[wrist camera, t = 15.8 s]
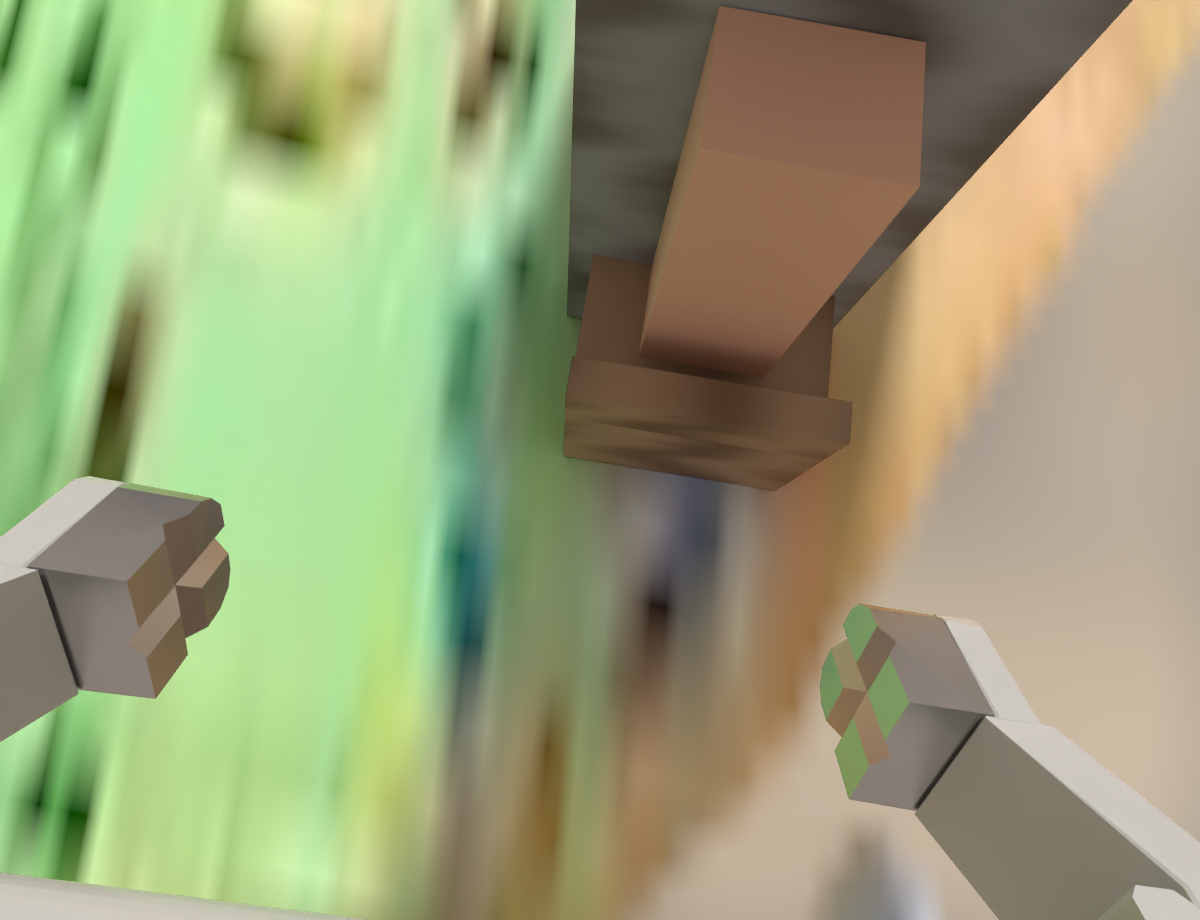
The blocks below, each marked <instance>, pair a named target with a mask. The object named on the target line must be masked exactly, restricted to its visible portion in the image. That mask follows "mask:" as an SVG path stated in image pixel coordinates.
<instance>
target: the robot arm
mask: <svg viewBox="0 0 1200 920" xmlns="http://www.w3.org/2000/svg"><path fill="white" fill-rule="evenodd" d="M223 527H224V520H223V515H222V510H221V504H219V503H218V502H216V501H215V500H214V499H212V498H208V497H203V496H197V495H192V494H187V493H181V492H176V491H170V490H165V489H160V488H154V487H149V486H143V485H138V484H133V483H131V484H127V483H124V482H118V481H113V480H107V479H102V478H96V477H91V476H88V477H83V478H79V479H74V480H73V481H72V482H70V483H69V484H68V485H67V486H65V487H64V488H63V489H61V490H60V491H59V492H58V493H56V494H55V495H54V496H53V497H51V498H50V499H49V500H47V501H46V502H45V503H44V504H42V505H41V506H40V507H39V508H37V509H36V510H35V511H33V512H32V513H31V514H30V515H28V516H27V517H26V518H24V519H23V520H22V521H21V522H19V523H18V524H17V525H16V526H14V527H13V528H12V529H10V530H9V531H8V532H7V533H5V534H4V535H3V536H1V537H0V742H1V741H3V740H4V739H6V738H8V737H9V736H11V735H12V734H14V733H16V732H17V731H19V730H21V729H22V728H24V727H25V726H27V725H29V724H30V723H32V722H34V721H35V720H37V719H38V718H40V717H42V716H43V715H45V714H47V713H48V712H50V711H51V710H53V709H55V708H56V707H58V706H59V705H61V704H63V703H64V702H66V701H68V700H69V699H71V698H72V697H74V696H76V695H77V694H78V690H85V691H94V692H102V693H111V694H120V695H128V696H137V697H145V698H154V699H156V698H157V696H158V695H159V694H160V692H161V691H162V689H163V688H164V687H165V685H166V684H167V683H168V681H169V680H170V678H171V677H172V676H173V674H174V673H175V672H176V670H177V669H178V667H179V666H180V665H181V663H182V662H183V661H184V659H185V658H186V656H187V655H188V652H187V646H186V641H185V638H187V637H189V636H191V635H193V634H195V633H197V632H198V631H200V630H202V629H204V628H206V627H208V626H209V624H210V623H211V621H212V620H213V619H214V617H215V616H216V614H217V613H218V611H219V610H220V608H221V605H222V603H223V600H224V597H225V595H226V592H227V589H228V586H229V576H230V563H229V555H228V553H227V552H226V550H225V549H224V548H223V547H222V546H221V545H220V544H219V543H218V542H217V541H216V539H215V537H216V536H217V534H218V533H219V532H220V531H221V529H222V528H223ZM843 627H844V629H845V632H846V635H847V638H848V639H847V640H845V641H843V642H842V643H840V644H838V645H837V646H835V647H833V648H832V649H831V650H830V652H829V654H828V657H827V659H826V661H825V663H824V665H823V669H822V676H821V683H820V693H821V704H822V708H823V711H824V715H825V719H826V721H827V722H828V723H829V724H830V725H831V726H832V727H833V728H834V729H835V730H836V732H837V733H838V734H839V735H840V736H841V737H842V738H841V740H840V742H839V744H838V746H837V747H836V749H835V754H836V757H837V761H838V764H839V767H840V771H841V774H842V778H843V781H844V784H845V788H846V791H847V794H848V798H849V799H851V800H856V801H862V802H868V803H874V804H880V805H885V806H891V807H897V808H902V809H908V810H914V811H916V813H915V815H916V816H917V818H918V819H919V820H920V821H921V823H922V824H923V825H924V826H925V828H926V829H927V830H928V831H929V833H930V834H931V835H932V836H933V838H934V839H935V840H936V841H937V843H938V844H939V845H940V846H941V847H942V849H943V850H944V851H945V853H946V854H947V855H948V856H949V858H950V859H951V860H952V861H953V863H954V864H955V865H956V866H957V868H958V869H959V870H960V871H961V873H962V874H963V875H964V876H965V878H966V879H967V880H968V881H969V883H970V884H971V885H972V886H973V888H974V889H975V890H976V891H977V892H978V894H979V895H980V896H981V898H982V899H983V900H984V901H985V903H986V904H987V905H988V906H989V907H990V909H991V910H992V911H993V913H994V914H995V915H996V916H997V918H998V919H999V920H1200V843H1199V842H1198V841H1197V840H1195V839H1194V838H1193V837H1192V836H1191V835H1189V834H1188V833H1187V832H1186V831H1184V830H1183V829H1182V828H1181V827H1179V826H1178V825H1177V824H1175V823H1174V822H1173V821H1172V820H1170V819H1169V818H1168V817H1167V816H1165V815H1164V814H1163V813H1161V812H1160V811H1159V810H1158V809H1157V808H1155V807H1154V806H1153V805H1151V804H1150V803H1149V802H1148V801H1146V800H1145V799H1144V798H1143V797H1141V796H1140V795H1139V794H1138V793H1136V792H1135V791H1134V790H1133V789H1131V788H1130V787H1129V786H1128V785H1126V784H1125V783H1124V782H1122V781H1121V780H1120V779H1118V778H1117V777H1116V776H1115V775H1114V774H1112V773H1111V772H1110V771H1108V770H1107V769H1106V768H1105V767H1103V766H1102V765H1101V764H1100V763H1098V762H1097V761H1096V760H1095V759H1093V758H1092V757H1091V756H1090V755H1088V754H1087V753H1086V752H1084V751H1083V750H1082V749H1081V748H1080V747H1078V746H1077V745H1076V744H1074V743H1073V742H1072V741H1070V740H1069V739H1068V738H1067V737H1066V736H1064V735H1063V734H1062V733H1061V732H1059V731H1058V730H1057V729H1055V728H1054V727H1053V726H1047V725H1041V724H1040V722H1039V721H1038V719H1037V717H1036V716H1035V714H1034V712H1033V711H1032V709H1031V708H1030V706H1029V704H1028V703H1027V701H1026V699H1025V698H1024V696H1023V694H1022V693H1021V691H1020V689H1019V688H1018V686H1017V684H1016V683H1015V681H1014V679H1013V678H1012V676H1011V675H1010V673H1009V671H1008V669H1007V668H1006V666H1005V664H1004V663H1003V661H1002V659H1001V658H1000V656H999V655H998V653H997V651H996V650H995V648H994V646H993V645H992V643H991V641H990V640H989V638H988V636H987V635H986V633H985V631H984V630H983V628H982V627H981V626H980V625H978V624H977V623H976V622H974V621H973V620H969V619H963V618H955V617H948V616H941V615H928V614H921V613H915V612H909V611H902V610H896V609H890V608H883V607H877V606H871V605H864V604H858V605H857V606H856V607H854V608H853V609H852V610H851V611H850V613H849V615H848V616H847V618H846V620H845V622H844V624H843ZM0 920H368V919H360V918H352V917H345V916H337V915H329V914H321V913H313V912H305V911H298V910H290V909H282V908H274V907H266V906H259V905H251V904H243V903H235V902H227V901H219V900H212V899H204V898H196V897H188V896H181V895H173V894H165V893H157V892H149V891H141V890H134V889H126V888H118V887H110V886H102V885H95V884H87V883H79V882H71V881H63V880H56V879H48V878H40V877H32V876H24V875H17V874H9V873H1V872H0Z"/></svg>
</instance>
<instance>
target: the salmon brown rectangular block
mask: <svg viewBox="0 0 1200 920" xmlns="http://www.w3.org/2000/svg"><path fill="white" fill-rule="evenodd" d="M925 53H926V42H922V41H916V40H911V39H905V38H899V37H894V36H888V35H882V34H877V33H871V32H866V31H860V30H854V29H849V28H843V27H837V26H832V25H826V24H820V23H815V22H809V21H803V20H798V19H792V18H786V17H781V16H775V15H769V14H764V13H758V12H752V11H747V10H741V9H736V8H730V7H724V6H719V9H718V13H717V17H716V21H715V24H714V28H713V32H712V36H711V40H710V44H709V48H708V52H707V55H706V59H705V63H704V67H703V71H702V75H701V79H700V83H699V86H698V90H697V94H696V98H695V102H694V106H693V110H692V113H691V117H690V121H689V125H688V129H687V133H686V137H685V141H684V144H683V148H682V152H681V156H680V160H679V164H678V168H677V172H676V175H675V179H674V183H673V187H672V191H671V195H670V199H669V203H668V206H667V210H666V214H665V218H664V222H663V226H662V230H661V234H660V237H659V241H658V245H657V249H656V253H655V257H654V261H653V265H652V270H651V277H650V284H649V291H648V297H647V304H646V311H645V317H644V324H643V331H642V338H641V344H640V351H639V357H644V358H650V359H656V360H662V361H668V362H674V363H680V364H686V365H692V366H698V367H704V368H710V369H716V370H722V371H728V372H734V373H740V374H746V375H753V376H759V377H765V376H766V375H767V373H768V372H769V371H770V370H771V368H772V367H773V366H774V365H775V364H776V362H777V361H778V360H779V359H780V357H781V356H782V355H783V354H784V352H785V351H786V350H787V349H788V348H789V346H790V345H791V344H792V343H793V341H794V340H795V339H796V338H797V337H798V335H799V334H800V333H801V332H802V330H803V329H804V328H805V327H806V326H807V324H808V323H809V322H810V321H811V319H812V318H813V317H814V316H815V315H816V313H817V312H818V311H819V310H820V308H821V307H822V306H823V305H824V304H825V302H826V301H827V300H828V299H829V297H830V296H831V295H832V294H833V292H834V291H835V290H836V289H837V288H838V286H839V285H840V284H841V283H842V281H843V280H844V279H845V278H846V277H847V275H848V274H849V273H850V272H851V270H852V269H853V268H854V267H855V266H856V264H857V263H858V262H859V261H860V259H861V258H862V257H863V256H864V255H865V253H866V252H867V251H868V250H869V248H870V247H871V246H872V245H873V244H874V242H875V241H876V240H877V239H878V237H879V236H880V235H881V234H882V232H883V231H884V230H885V229H886V228H887V226H888V225H889V224H890V223H891V221H892V220H893V219H894V218H895V217H896V215H897V214H898V213H899V212H900V210H901V209H902V208H903V207H904V206H905V204H906V203H907V202H908V201H909V199H910V198H911V197H912V196H913V195H914V193H915V192H916V191H917V190H918V188H919V187H920V170H921V147H922V124H923V100H924V77H925Z"/></svg>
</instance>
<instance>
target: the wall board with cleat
mask: <svg viewBox="0 0 1200 920" xmlns="http://www.w3.org/2000/svg"><path fill="white" fill-rule="evenodd" d="M1131 2H1132V0H576V18H575V54H574V89H573V125H572V160H571V196H570V231H569V267H568V302H567V316H569V317H575V318H581V319H582V323H581V329H580V334H579V340H578V346H577V352H576V356H573V357H572V363H571V369H570V374H569V380H568V386H567V392H566V403H565V435H564V456H566V457H572V458H578V459H584V460H590V461H596V462H602V463H608V464H615V465H621V466H627V467H633V468H639V469H645V470H651V471H658V472H664V473H670V474H676V475H682V476H688V477H694V478H700V479H707V480H713V481H719V482H725V483H731V484H737V485H743V486H749V487H756V488H762V489H768V490H774V491H775V490H777V489H778V488H780V487H782V486H783V485H785V484H786V483H788V482H789V481H791V480H793V479H794V478H796V477H797V476H799V475H800V474H802V473H803V472H805V471H807V470H808V469H810V468H811V467H813V466H814V465H816V464H818V463H819V462H821V461H822V460H824V459H825V458H827V457H828V456H830V455H832V454H833V453H835V452H836V451H838V450H839V449H841V448H842V447H844V446H846V445H847V444H849V443H850V431H851V416H852V402H847V401H841V400H835V399H829V398H828V386H829V372H830V359H831V346H832V332H833V328H834V327H835V326H836V325H837V324H838V323H839V321H840V320H841V319H842V318H843V317H844V316H845V315H846V314H847V313H848V312H849V310H850V309H851V308H852V307H853V306H854V305H855V304H856V303H857V302H858V301H859V300H860V298H861V297H862V296H863V295H864V294H865V293H866V292H867V291H868V290H869V289H870V287H871V286H872V285H873V284H874V283H875V282H876V281H877V280H878V279H879V278H880V276H881V275H882V274H883V273H884V272H885V271H886V270H887V269H888V268H889V267H890V266H891V264H892V263H893V262H894V261H895V260H896V259H897V258H898V257H899V256H900V255H901V253H902V252H903V251H904V250H905V249H906V248H907V247H908V246H909V245H910V244H911V243H912V241H913V240H914V239H915V238H916V237H917V236H918V235H919V234H920V233H921V232H922V230H923V229H924V228H925V227H926V226H927V225H928V224H929V223H930V222H931V221H932V220H933V218H934V217H935V216H936V215H937V214H938V213H939V212H940V211H941V210H942V209H943V207H944V206H945V205H946V204H947V203H948V202H949V201H950V200H951V199H952V198H953V197H954V195H955V194H956V193H957V192H958V191H959V190H960V189H961V188H962V187H963V186H964V184H965V183H966V182H967V181H968V180H969V179H970V178H971V177H972V176H973V175H974V174H975V172H976V171H977V170H978V169H979V168H980V167H981V166H982V165H983V164H984V163H985V161H986V160H987V159H988V158H989V157H990V156H991V155H992V154H993V153H994V152H995V151H996V149H997V148H998V147H999V146H1000V145H1001V144H1002V143H1003V142H1004V141H1005V140H1006V138H1007V137H1008V136H1009V135H1010V134H1011V133H1012V132H1013V131H1014V130H1015V129H1016V127H1017V126H1018V125H1019V124H1020V123H1021V122H1022V121H1023V120H1024V119H1025V118H1026V117H1027V115H1028V114H1029V113H1030V112H1031V111H1032V110H1033V109H1034V108H1035V107H1036V106H1037V104H1038V103H1039V102H1040V101H1041V100H1042V99H1043V98H1044V97H1045V96H1046V95H1047V94H1048V92H1049V91H1050V90H1051V89H1052V88H1053V87H1054V86H1055V85H1056V84H1057V83H1058V81H1059V80H1060V79H1061V78H1062V77H1063V76H1064V75H1065V74H1066V73H1067V72H1068V71H1069V69H1070V68H1071V67H1072V66H1073V65H1074V64H1075V63H1076V62H1077V61H1078V60H1079V58H1080V57H1081V56H1082V55H1083V54H1084V53H1085V52H1086V51H1087V50H1088V49H1089V48H1090V46H1091V45H1092V44H1093V43H1094V42H1095V41H1096V40H1097V39H1098V38H1099V37H1100V35H1101V34H1102V33H1103V32H1104V31H1105V30H1106V29H1107V28H1108V27H1109V26H1110V25H1111V23H1112V22H1113V21H1114V20H1115V19H1116V18H1117V17H1118V16H1119V15H1120V14H1121V12H1122V11H1123V10H1124V9H1125V8H1126V7H1127V6H1128V5H1129V4H1130V3H1131ZM719 6H724V7H730V8H736V9H741V10H747V11H752V12H758V13H764V14H769V15H775V16H781V17H786V18H792V19H798V20H803V21H809V22H815V23H820V24H826V25H832V26H837V27H843V28H849V29H854V30H860V31H866V32H871V33H877V34H882V35H888V36H894V37H899V38H905V39H911V40H916V41H922V42H926V53H925V77H924V100H923V124H922V147H921V170H920V187H919V188H918V190H917V191H916V192H915V193H914V195H913V196H912V197H911V198H910V199H909V201H908V202H907V203H906V204H905V206H904V207H903V208H902V209H901V210H900V212H899V213H898V214H897V215H896V217H895V218H894V219H893V220H892V221H891V223H890V224H889V225H888V226H887V228H886V229H885V230H884V231H883V232H882V234H881V235H880V236H879V237H878V239H877V240H876V241H875V242H874V244H873V245H872V246H871V247H870V248H869V250H868V251H867V252H866V253H865V255H864V256H863V257H862V258H861V259H860V261H859V262H858V263H857V264H856V266H855V267H854V268H853V269H852V270H851V272H850V273H849V274H848V275H847V277H846V278H845V279H844V280H843V281H842V283H841V284H840V285H839V286H838V288H837V289H836V290H835V291H834V292H833V294H832V295H831V296H830V297H829V299H828V300H827V301H826V302H825V304H824V305H823V306H822V307H821V308H820V310H819V311H818V312H817V313H816V315H815V316H814V317H813V318H812V319H811V321H810V322H809V323H808V324H807V326H806V327H805V328H804V329H803V330H802V332H801V333H800V334H799V335H798V337H797V338H796V339H795V340H794V341H793V343H792V344H791V345H790V346H789V348H788V349H787V350H786V351H785V352H784V354H783V355H782V356H781V357H780V359H779V360H778V361H777V362H776V364H775V365H774V366H773V367H772V368H771V370H770V371H769V372H768V373H767V375H766V376H765V377H759V376H753V375H746V374H740V373H734V372H728V371H722V370H716V369H710V368H704V367H698V366H692V365H686V364H680V363H674V362H668V361H662V360H656V359H650V358H644V357H639V351H640V344H641V338H642V331H643V324H644V317H645V311H646V304H647V297H648V291H649V284H650V277H651V270H652V265H653V261H654V257H655V253H656V249H657V245H658V241H659V237H660V234H661V230H662V226H663V222H664V218H665V214H666V210H667V206H668V203H669V199H670V195H671V191H672V187H673V183H674V179H675V175H676V172H677V168H678V164H679V160H680V156H681V152H682V148H683V144H684V141H685V137H686V133H687V129H688V125H689V121H690V117H691V113H692V110H693V106H694V102H695V98H696V94H697V90H698V86H699V83H700V79H701V75H702V71H703V67H704V63H705V59H706V55H707V52H708V48H709V44H710V40H711V36H712V32H713V28H714V24H715V21H716V17H717V13H718V9H719Z"/></svg>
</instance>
